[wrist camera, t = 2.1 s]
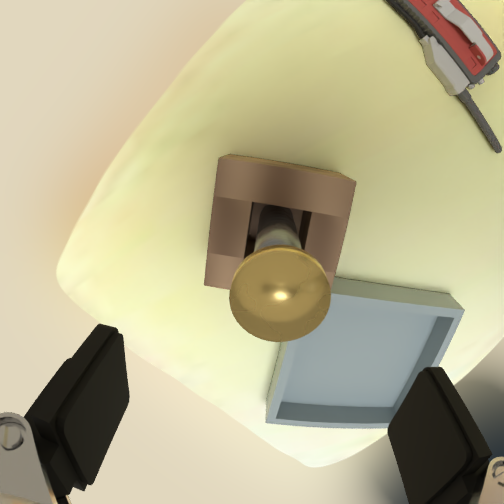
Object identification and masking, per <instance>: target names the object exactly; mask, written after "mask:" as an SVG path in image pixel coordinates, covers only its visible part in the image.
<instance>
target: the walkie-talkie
mask: <svg viewBox="0 0 504 504" xmlns="http://www.w3.org/2000/svg"><path fill="white" fill-rule="evenodd" d="M386 1H387V2H388V3H390V4H391V5H392V7H394V8H395V9H396V11H398V12H399V13H400V15H402V16H403V17H404V19H406V20H407V21H408V23H410V24H411V26H412V27H414V29H415V30H416V32H417V34H418V36H419V38H420V40H419V42H420V43H421V44H422V47H423V52H424V56H425V60H426V64H427V66H428V67H429V68H430V69H431V71H432V72H433V73H434V74H435V75H436V77H437V78H438V79H439V80H440V82H441V83H442V84H443V86H444V87H445V90H446V91H447V93H448V94H449V95H450V96H452V95H457V96H458V97H459V99H460V100H461V102H462V103H464V104H465V105H466V106H467V108H468V109H469V111H470V112H471V114H472V115H473V117H474V118H475V120H476V122H477V123H478V125H479V126H480V128H481V130H482V131H483V133H484V134H485V135H486V137H487V138H488V140H489V142H490V143H491V145H492V147H493V148H494V150H495V152H496V153H500V152H501V151H502V147H501V145H500V143H499V141H498V140H497V138H496V136H495V135H494V133H493V131H492V129H491V128H490V126H489V125H488V123H487V121H486V120H485V118H484V116H483V115H482V113H481V112H480V110H479V109H478V107H477V106H476V104H475V103H474V101H473V100H472V98H471V95H470V94H469V92H468V91H467V89H466V88H465V87H468V88H469V89H472V88H474V87H475V85H474V84H476V83H478V84H479V85H480V84H482V83H484V79H483V77H484V76H485V75H491V74H493V73H495V72H496V71H497V70H498V69H499V65H498V63H497V62H498V61H499V60H500V58H501V54H500V51H499V50H498V48H497V47H496V45H495V44H494V43H493V41H492V40H491V38H490V37H489V36H488V34H487V33H486V32H485V31H484V29H483V28H482V27H481V25H480V24H479V23H478V22H477V20H476V19H475V18H474V17H473V16H472V14H470V13H469V11H468V10H467V9H466V8H465V6H464V5H463V4H462V3H461V2H460V1H459V0H386Z"/></svg>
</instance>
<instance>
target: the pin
mask: <svg viewBox="0 0 504 504" xmlns="http://www.w3.org/2000/svg"><path fill="white" fill-rule="evenodd" d="M229 300H230V307H231V310H232V313H233V315H234V317H235V319H236V321H237V322H238V323H239V324H240V326H241V327H242V328H243V329H245V330H246V331H247V332H248V333H250V334H252V335H253V336H255V337H258V338H260V339H263V340H267V341H273V342H286V341H292V340H296V339H299V338H301V337H303V336H305V335H307V334H309V333H311V332H312V331H313V330H315V329H316V328H317V327H318V326H319V325H320V324H321V323H322V321H323V320H324V318H325V317H326V315H327V313H328V310H329V307H330V303H331V289H330V285H329V282H328V279H327V277H326V274H325V272H324V269H323V268H322V266H321V264H320V263H319V262H318V261H317V259H316V258H314V257H313V256H312V255H311V254H309V253H308V252H306V251H304V250H303V249H302V248H301V244H300V240H299V236H298V233H297V229H296V225H295V221H294V218H293V214H292V212H291V210H290V209H289V208H287V207H281V206H275V205H269V204H268V205H266V206H265V207H264V208H263V209H262V211H261V213H260V216H259V223H258V229H257V236H256V242H255V249H254V252H253V253H251V254H250V255H249V256H247V257H246V258H245V259H244V260H243V261H242V262H241V264H240V265H239V266H238V268H237V270H236V272H235V274H234V277H233V281H232V285H231V289H230V296H229Z"/></svg>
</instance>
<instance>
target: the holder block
mask: <svg viewBox="0 0 504 504" xmlns="http://www.w3.org/2000/svg"><path fill="white" fill-rule="evenodd" d="M355 187H356V181H354V180H352V179H350V178H349V177H347V176H345V175H343V174H341V173H338V172H333V171H328V170H323V169H318V168H312V167H307V166H302V165H296V164H290V163H285V162H279V161H273V160H266V159H260V158H253V157H246V156H239V155H232V154H228V155H225V156H223V157H220V158H219V159H218V166H217V174H216V182H215V189H214V198H213V206H212V214H211V223H210V232H209V241H208V250H207V260H206V269H205V280H204V285H205V286H211V287H217V288H223V289H229V290H230V289H231V285H232V281H233V277H234V274H235V272H236V270H237V268H238V266H239V265H240V264H241V262H242V261H243V260H244V259H245V258H246V257H247V256H249V255H250V254H251V253H253V252H254V249H255V242H256V236H257V229H258V223H259V216H260V213H261V211H262V209H263V208H264V207H265V206H266V205H268V204H269V205H275V206H281V207H287V208H289V209H290V210H291V212H292V214H293V218H294V221H295V225H296V229H297V233H298V236H299V240H300V244H301V248H302V249H303V250H304V251H306V252H308V253H309V254H311V255H312V256H313V257H314V258H316V259H317V261H318V262H319V263H320V264H321V266H322V268H323V269H324V272H325V274H326V277H327V279H328V282H329V285H330V289H331V288H332V284H333V280H334V277H335V273H336V269H337V265H338V261H339V257H340V253H341V249H342V245H343V241H344V237H345V232H346V228H347V224H348V219H349V215H350V210H351V206H352V201H353V196H354V192H355Z"/></svg>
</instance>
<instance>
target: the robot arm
mask: <svg viewBox="0 0 504 504" xmlns="http://www.w3.org/2000/svg"><path fill="white" fill-rule="evenodd" d="M128 403H129V387H128V379H127V371H126V362H125V352H124V340H123V335H122V334H120V333H118V329H117V328H115V327H111V326H107V325H103V324H98V325H97V326H96V327H95V329H94V330H93V331H92V332H91V334H90V335H89V336H88V337H87V339H86V340H85V341H84V342H83V344H82V345H81V346H80V348H79V349H78V350H77V352H76V353H75V354H74V355H73V357H72V358H69V359H67V360H66V361H65V362H64V363H63V364H62V366H61V367H60V368H59V370H58V371H57V372H56V374H55V375H54V376H53V377H52V379H51V380H50V382H49V383H48V384H47V386H46V387H45V388H44V389H43V391H42V392H41V394H40V395H39V396H38V398H37V399H36V400H35V402H34V403H33V405H32V406H31V407H30V409H29V410H28V412H27V413H26V414H25V416H24V417H22V416H20V415H19V414H15V413H12V412H11V413H9V412H7V413H1V414H0V504H71V502H70V499H69V496H68V495H69V494H70V492H71V490H72V488H73V487H75V488H77V489H80V490H82V491H85V488H86V486H87V484H88V485H92V484H93V483H94V481H95V478H96V476H97V474H98V471H99V469H100V467H101V464H102V462H103V460H104V457H105V455H106V453H107V450H108V448H109V446H110V444H111V441H112V439H113V437H114V434H115V432H116V430H117V428H118V426H119V423H120V421H121V419H122V417H123V415H124V412H125V410H126V408H127V406H128ZM388 436H389V439H390V442H391V445H392V448H393V451H394V455H395V458H396V461H397V464H398V467H399V471H400V474H401V477H402V481H403V484H404V488H405V491H406V495H407V498H408V502H409V504H504V457H497V458H495V459H493V460H492V461H491V462H490V463H489V461H488V458H490V456H491V455H492V452H491V451H490V449H489V447H488V445H487V443H486V441H485V439H484V437H483V436H482V434H481V432H480V430H479V429H478V427H477V425H476V423H475V421H474V420H473V418H472V416H471V414H470V412H469V411H468V409H467V407H466V406H465V404H464V402H463V400H462V399H461V397H460V395H459V394H458V392H457V390H456V389H455V387H454V385H453V384H452V382H451V381H450V379H449V377H448V376H447V374H446V373H445V371H444V369H443V368H442V367H425V368H424V369H423V370H422V371H420V372H419V373H418V375H417V377H416V379H415V381H414V382H413V384H412V386H411V388H410V390H409V392H408V393H407V395H406V397H405V399H404V400H403V402H402V404H401V405H400V407H399V409H398V411H397V412H396V414H395V415H394V417H393V419H392V420H391V422H390V424H389V426H388Z"/></svg>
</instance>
